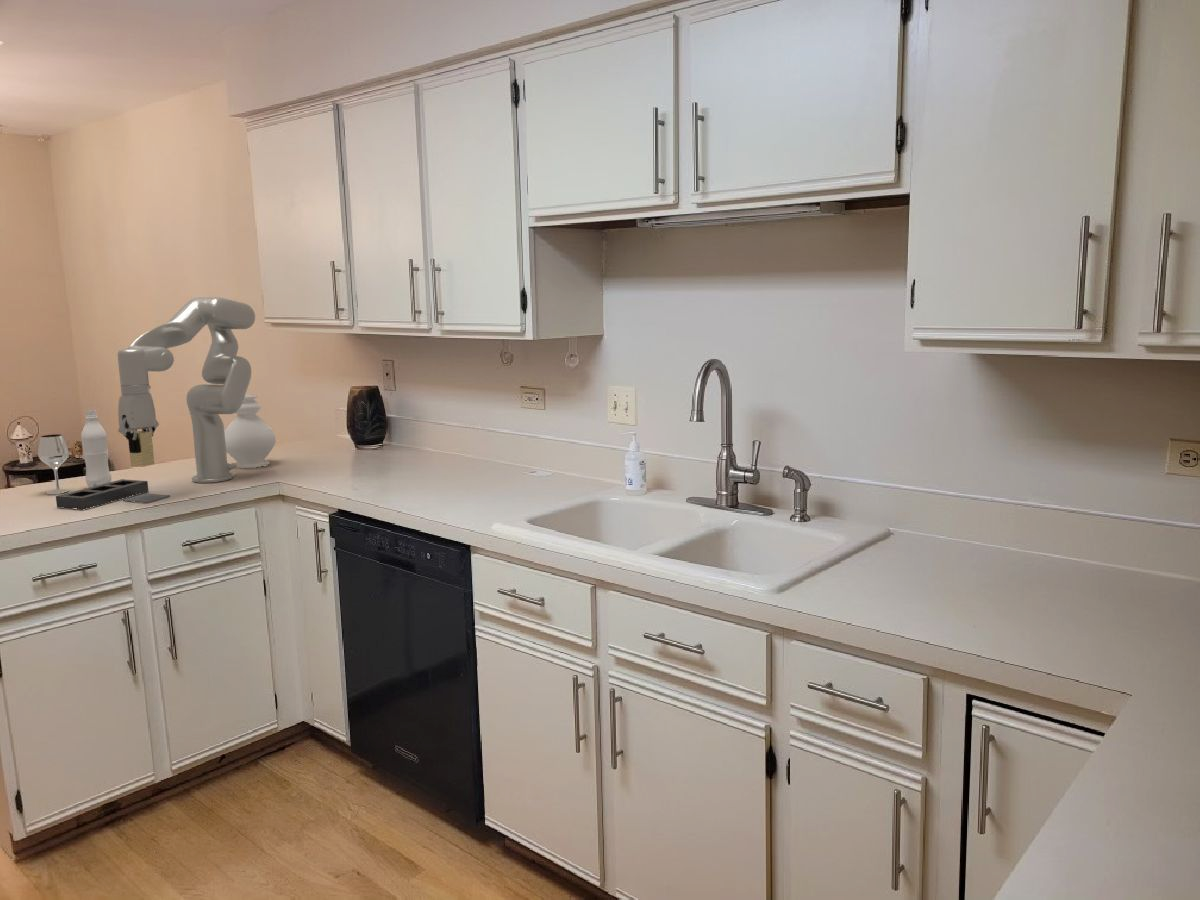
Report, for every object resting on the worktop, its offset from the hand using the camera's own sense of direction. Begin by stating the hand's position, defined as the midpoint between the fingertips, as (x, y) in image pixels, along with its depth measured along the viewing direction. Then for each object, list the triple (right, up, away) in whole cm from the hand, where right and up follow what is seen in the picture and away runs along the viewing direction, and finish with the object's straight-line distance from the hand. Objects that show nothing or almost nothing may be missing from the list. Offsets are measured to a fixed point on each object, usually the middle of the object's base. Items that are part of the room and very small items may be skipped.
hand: (141, 450), depth 266 cm
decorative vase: (+12, -5, +54) cm, 55 cm away
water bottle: (-23, -12, +19) cm, 33 cm away
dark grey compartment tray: (-12, -15, +3) cm, 20 cm away
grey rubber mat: (0, -15, +3) cm, 15 cm away
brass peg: (0, -4, +1) cm, 4 cm away
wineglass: (-33, -13, +13) cm, 38 cm away
